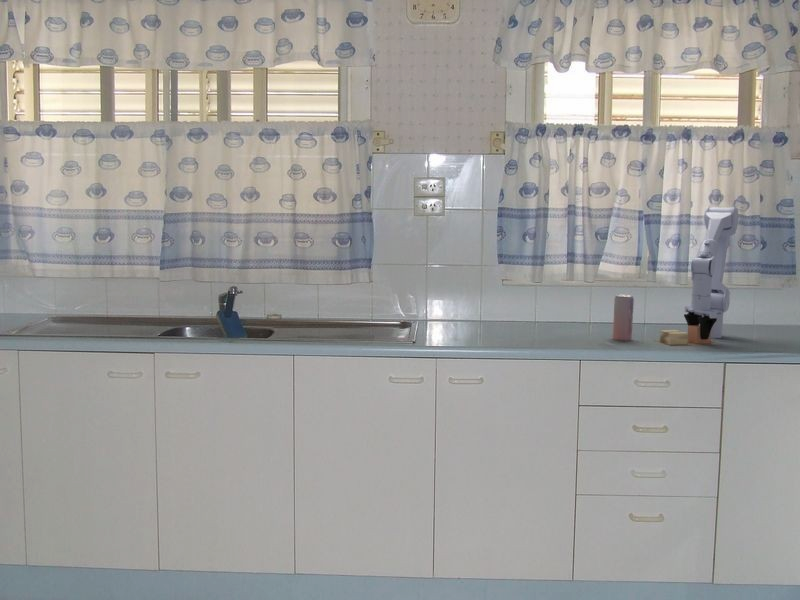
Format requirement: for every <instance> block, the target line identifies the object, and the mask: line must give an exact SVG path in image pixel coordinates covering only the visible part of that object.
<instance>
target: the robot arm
mask: <svg viewBox="0 0 800 600" xmlns="http://www.w3.org/2000/svg"><path fill="white" fill-rule="evenodd" d="M703 220H704V224H705V228H706V230H707V231H706V236H705V239H703V240H702V241H701V242H700V244H699V248H698V251H697V254H696V257H695V258H693V259H692V260H691V264H690V273H691V281H692V289H691V305H685V306H684V314H683V317H684V319H685V321H686V323H687V326H688V325H700V335H701V339H708V337H709V334H710V331H711V339H720V338H722V337H723V327H724V326H723V324H724V313H726V312H727V311H728V310H729V307H730V301H731V300H730V296H731V292H730V288H728V286H726V285H725V284H723V281H724V273H725V267H726V260H727V253H728V248H729V241H730V239H731V236H733V235H735V234H736V231H737V229H738V223H739V210H738V208H737V206H733V207H730V206H729V207H728V206H727V207H725V206H723V207H722V206H720V207H719V206H718V207H717V206H707V207H706V208H705V210H704V216H703Z"/></svg>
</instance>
